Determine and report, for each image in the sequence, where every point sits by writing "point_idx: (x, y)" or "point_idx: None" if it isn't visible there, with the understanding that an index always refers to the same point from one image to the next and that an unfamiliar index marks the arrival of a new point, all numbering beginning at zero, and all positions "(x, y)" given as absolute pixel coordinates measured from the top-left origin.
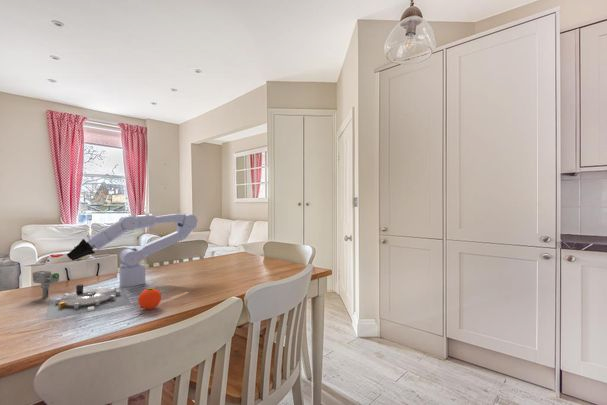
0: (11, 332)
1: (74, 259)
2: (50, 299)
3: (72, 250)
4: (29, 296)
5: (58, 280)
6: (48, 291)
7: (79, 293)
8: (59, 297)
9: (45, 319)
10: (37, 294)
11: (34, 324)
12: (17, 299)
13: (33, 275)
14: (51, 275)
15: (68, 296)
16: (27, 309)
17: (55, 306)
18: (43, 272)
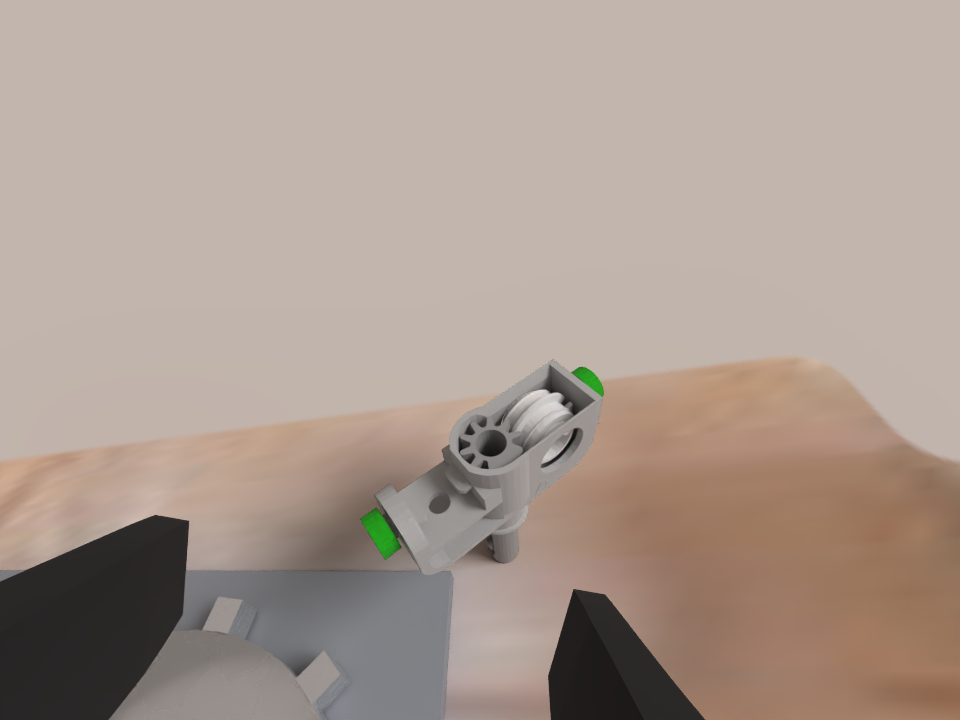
0: (58, 467)
1: (553, 707)
2: (402, 572)
3: (4, 584)
4: (638, 460)
5: (425, 573)
6: (502, 541)
7: None
8: (410, 629)
9: (2, 571)
10: (670, 494)
11: (56, 534)
12: (599, 418)
13: (544, 381)
14: (379, 492)
15: (223, 690)
16: (352, 481)
17: (198, 611)
18: (546, 424)
